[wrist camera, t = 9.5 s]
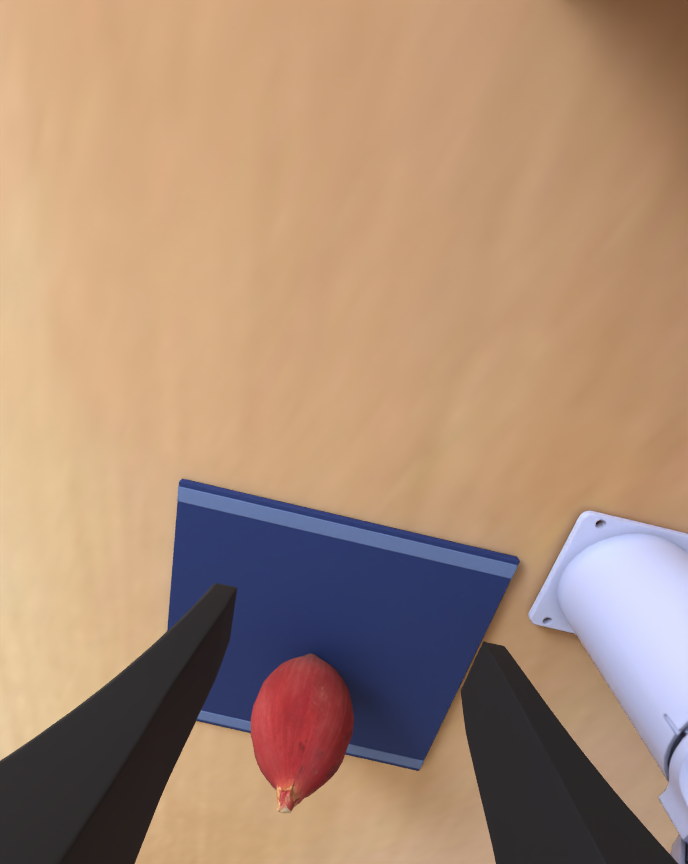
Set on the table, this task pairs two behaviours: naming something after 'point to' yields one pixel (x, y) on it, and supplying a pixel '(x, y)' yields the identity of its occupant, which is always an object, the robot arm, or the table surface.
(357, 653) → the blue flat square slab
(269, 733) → the onion
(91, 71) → the table surface
